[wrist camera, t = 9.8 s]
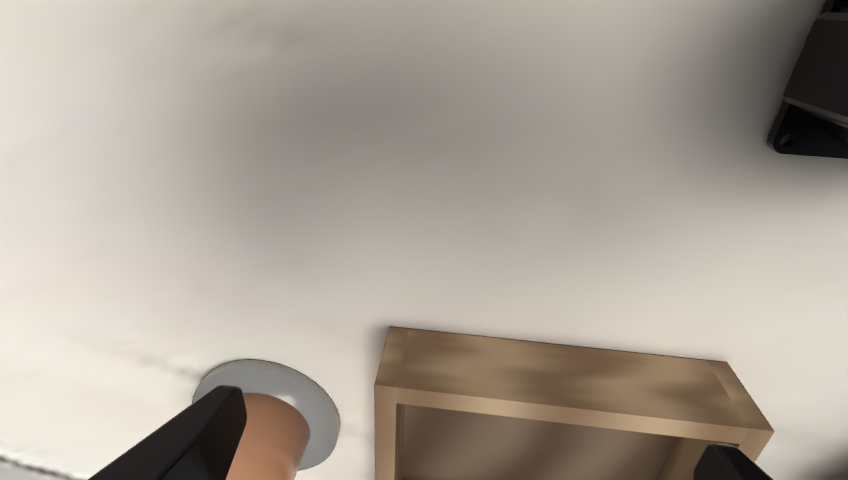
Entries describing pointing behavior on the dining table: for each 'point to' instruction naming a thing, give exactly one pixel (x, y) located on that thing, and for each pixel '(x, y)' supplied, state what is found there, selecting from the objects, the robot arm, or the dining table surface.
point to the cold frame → (551, 411)
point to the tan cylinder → (270, 440)
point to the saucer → (284, 399)
